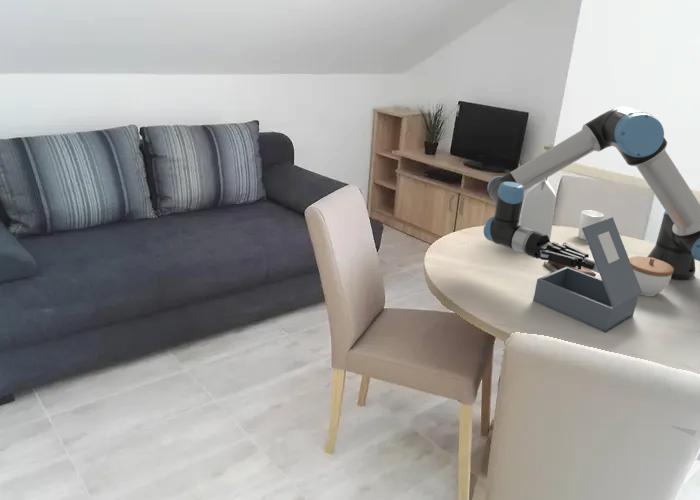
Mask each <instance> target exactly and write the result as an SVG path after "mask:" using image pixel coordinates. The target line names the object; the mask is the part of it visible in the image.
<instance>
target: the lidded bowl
mask: <svg viewBox="0 0 700 500" xmlns="http://www.w3.org/2000/svg"><path fill="white" fill-rule="evenodd" d="M628 258H629V260H630V263H631V265H632V268H633V270H634V273H635V276H636V278H637V281H638V283H639V286H640V288H641V291H642V292H641V293H639V296H640V295H641V296H645V297H655V296H656V295H657V294H659V293H662V292H663V291H664V290H665V289H666V288H667V287H668V286H669V283H670V281H671V280H672V279H671V276H672V274H673V271H674V268H673V267H672V266H671V265H670V264H668V263H666V262H664V261H661V260H658V259H655V258H650V257H648V256H643V255H642V256H639V255H638V256H636V255H635V256H631V257H628Z"/></svg>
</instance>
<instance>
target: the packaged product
mask: <svg viewBox="0 0 700 500" xmlns="http://www.w3.org/2000/svg"><path fill="white" fill-rule="evenodd" d="M542 265H543V266H544V267H546V268H547V269H548V270H550V271H551V273H553V272H555V271H557V270H560V269H562V268H564V267H569V268H572V269H574V270H577V271H580V272H582V273H585V274H588V275H590V276H593V277H596V276H597V273H596V272H595V271H592V270H589V269H586V268H584V267H583V266H582V267H581V269H578V266H576V268H574V267H570V266H566V265H563V264H559V263H556V262H552V261H548V260H544V261H543V264H542Z"/></svg>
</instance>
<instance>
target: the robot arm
mask: <svg viewBox="0 0 700 500" xmlns="http://www.w3.org/2000/svg"><path fill="white" fill-rule="evenodd" d="M667 145H668V140H666V138H665V130H664V127H663V125H662V123H661V122H660V121H659V119H657V118H656V117H655V116H654V115H653V114H650V113H648V112H645V111H640V110H636V109H634V108H632V107H627V106H620V107H616V108H612V109H610V110H608V111H605V112H604V113H602V114H600V115H599V116H598V115H597V116H596V117H595V118H593V119H591V120H590V121H588V122H586V123H585V124H583V125H582V128H581V130H579V131H577V132H576V133H574V134H573V135H571V136H569V137H567V138H566V139H564V140H562V141H561V142H559V143H557V144H556V145H554V146H552V147H551V148H549V149H547V150H545V151H544V152H542V153H541V154H538V155H537V156H536V157H534V158H532V159H530V160H529V161H527V162H526V163H524V164H522V165H520V166H518V167H517V168H516V169H514V170H512V171H510V172H509V173H506V174H505V175H499V176H494V177H492V178H491V179H490V180H489V182H488V184H487V192H488V196H489V197H490V198H491V200H492V201H493V203H494V204H495V211H494V216H491V217H489V219H487V220H486V222H485V225H484V227H483V236H484V238H486V239H487V240H488V241H490V242H492V243H494V244H497V245H501V246H503V247H505V248H509V249H511V250H514V251H517V252H518V253H519V254H525V255H527V256H529V257H532V258H535V259H540V260H542V261H547V262H548V261H552V262H556V263H559V264H563V265H566V266H570V267H574V268H576V266H578V269H581V267H582V266H583V267H584V268H586V269H589V270H591V271H593V272H594V273H596V274H597V273H598V274H599V271H598V269H597V266H596V263H595V261H594V258H591V257H590V254H589V253H587V252H585V251H582V250H580V249H579V248H576V247H574V246H571V245H570V244H568V243H567V242H562V244H559V243H558V242H555V241H551V239H550V240H549V237H548V236H547V235H546V234H543V233H540V232H537V231H535V230H532V229H529V228H526V227H523V226H520V225H518V224H519V218H520V213H521V208H522V203H523V199H524V191H525V190H526V189H528V188H530V187H532V186H533V185H535V184H537V183H539V182H540V181H542V180H544V179H546V180H547V179H548V178H549V177H551V176H553V175H555V174H556V173H558V172H560V171H562V170H563V169H566V168H567V167H569V166H570V165H572V164H574V163H576V162H577V161H579V160H580V159H582V158H584V157H587V156H588V155H590V154H592V153H593V152H601V151H603V150H604V149H608V148H611V147H614V148H616V149H617V151H618V152H619V154H620V155H621V157H622V158H623V160H624V161H625V162H626V164H627V165H628V166H631V167H635V168H637V170H638V172H639V173H640V174H641V176H642V177H643V179H644V181H645V182H646V184H647V185H648V187H649V188H650V190H651V191H652V193H653V194H654V196H655V197H656V198H657V200H658V202H659V203H660V205H661V206H662V207H663V209H664V213H663V215H662V221H661V224H660V228H659V231H658V235H657V239H656V242H655V246H653V249H651V251H650V253H649V254H647V255H648V256H647V257H650V258H655V259H658V260H661V261H664V262H666V263H668V264H670V265H671V266H672V267H673V268H674V271H673V274H672V276H671V279H670V280H679V281H680V280H681V281H686V280H687V281H688V280H691V279H693V278H694V277H695V274H696V263H695V262H696V261H698V262H700V202H699V201H698V199H697V198H696V195H694V193H693V191H692V190H691V188H690V187H689V185H688V183H687V182H686V181H685V179H684V177H683V176H682V174H681V173H680V171H679V169H678V168H677V166H676V165H675V163H674V162H673V160H672V158H671V157H670V155H669V154H668V153H667V151H666V149H667Z"/></svg>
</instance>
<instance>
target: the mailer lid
mask: <svg viewBox="0 0 700 500" xmlns="http://www.w3.org/2000/svg"><path fill="white" fill-rule="evenodd" d="M582 230H583V232H584V235H585V237H586V240H585V241H586V243H587V244H588V247H589V248H588V249H589V250H590V252H591V255H592V259H594V261H595V263H596V266H597V269H598V271H599V273H598V274H599V276H600V279H601V280H602V282H603V284H604V287H605V289H606V292H607V295H608V297H609V300H610V302H611V305H612V307H613V308H614V307H616V306H618V305H620V304H622V303H623V302H625V301H627V300H629V299H631V298H632V297H634V296H636V295H638V294H639V293H641V292H642V291H641V288H640V286H639V283H638V281H637V278H636V276H635V273H634V270H633V268H632V265H631V263H630V260H629V258H630V257H629V255H628V253H627V250H626V248H625V246H624V242H623V240H622V238H621V235H620V232H619V230H618V227H617V225H616V222H615V220H614V217H613V216H612V217H609V218H606V219H603V220H602V221H601V222H598V223H595V224H592V225H589V226H587V227H584V228H582ZM639 295H640V294H639Z"/></svg>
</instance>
